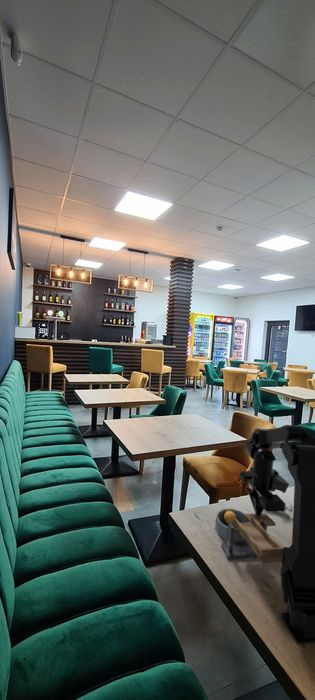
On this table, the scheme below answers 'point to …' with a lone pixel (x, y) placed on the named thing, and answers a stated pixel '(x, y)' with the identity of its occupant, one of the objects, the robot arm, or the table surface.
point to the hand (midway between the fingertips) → (257, 514)
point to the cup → (223, 526)
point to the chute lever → (260, 537)
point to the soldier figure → (289, 508)
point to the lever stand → (238, 545)
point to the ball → (229, 517)
